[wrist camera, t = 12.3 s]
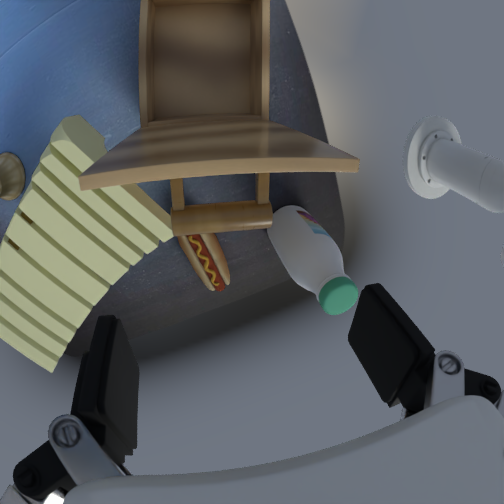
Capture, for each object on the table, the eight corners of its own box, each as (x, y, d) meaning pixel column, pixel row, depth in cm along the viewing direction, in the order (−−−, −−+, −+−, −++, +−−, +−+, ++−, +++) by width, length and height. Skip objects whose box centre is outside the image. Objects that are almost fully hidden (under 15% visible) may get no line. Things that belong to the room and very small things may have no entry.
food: (234, 270, 50) (238, 287, 46) (205, 282, 50) (207, 300, 46) (200, 200, 43) (202, 213, 39) (168, 215, 43) (165, 229, 39)
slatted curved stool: (105, 110, 33) (49, 120, 18) (181, 181, 41) (176, 234, 26) (15, 248, 39) (-32, 311, 24) (78, 299, 47) (52, 373, 31)
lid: (77, 176, 12) (98, 263, 15) (360, 159, 15) (347, 239, 17) (139, 128, 28) (143, 170, 31) (269, 120, 31) (268, 161, 34)
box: (149, 5, 26) (141, -14, 19) (255, 1, 29) (269, -17, 22) (150, 125, 36) (140, 131, 29) (254, 118, 38) (268, 123, 32)
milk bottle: (272, 252, 50) (315, 335, 33) (260, 213, 46) (304, 289, 29) (313, 236, 50) (371, 309, 33) (304, 197, 46) (369, 261, 29)
